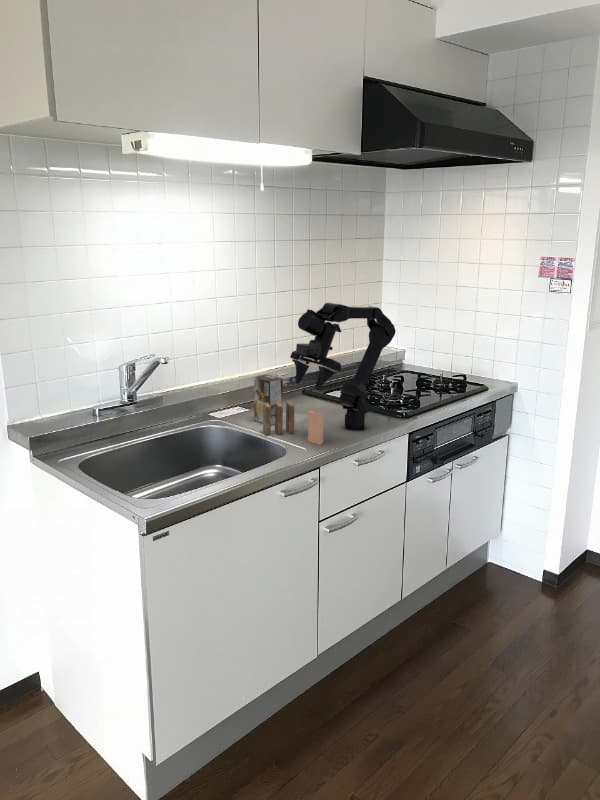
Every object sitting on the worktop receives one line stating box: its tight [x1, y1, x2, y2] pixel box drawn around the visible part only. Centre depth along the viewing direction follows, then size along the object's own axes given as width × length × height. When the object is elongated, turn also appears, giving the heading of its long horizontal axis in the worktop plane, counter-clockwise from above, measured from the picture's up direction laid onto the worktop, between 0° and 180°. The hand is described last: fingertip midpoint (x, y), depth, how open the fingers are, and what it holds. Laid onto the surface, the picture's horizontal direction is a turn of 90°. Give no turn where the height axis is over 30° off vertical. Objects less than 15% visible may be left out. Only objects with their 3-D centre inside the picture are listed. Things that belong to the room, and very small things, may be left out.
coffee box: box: [253, 374, 284, 426], centre depth 233 cm, size 9×6×16 cm
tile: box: [307, 410, 325, 446], centre depth 212 cm, size 2×5×10 cm, turn 49°
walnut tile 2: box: [285, 401, 295, 435], centre depth 222 cm, size 2×5×10 cm, turn 14°
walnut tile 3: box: [274, 402, 284, 436], centre depth 221 cm, size 2×5×10 cm, turn 14°
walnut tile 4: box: [262, 403, 272, 437], centre depth 220 cm, size 2×5×10 cm, turn 14°
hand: (306, 386), depth 210 cm, fingers open, 9 cm apart
